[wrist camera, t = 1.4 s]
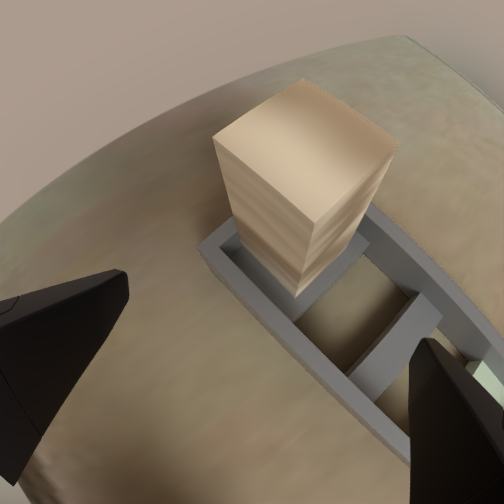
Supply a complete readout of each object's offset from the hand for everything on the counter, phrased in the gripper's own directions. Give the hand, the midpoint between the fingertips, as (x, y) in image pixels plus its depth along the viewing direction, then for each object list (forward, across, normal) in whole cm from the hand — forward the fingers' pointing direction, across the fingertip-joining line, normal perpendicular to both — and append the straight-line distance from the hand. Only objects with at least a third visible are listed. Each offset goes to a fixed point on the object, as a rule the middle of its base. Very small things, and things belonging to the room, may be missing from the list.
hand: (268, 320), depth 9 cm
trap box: (+10, -8, +8) cm, 15 cm away
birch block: (+12, 0, +3) cm, 13 cm away
